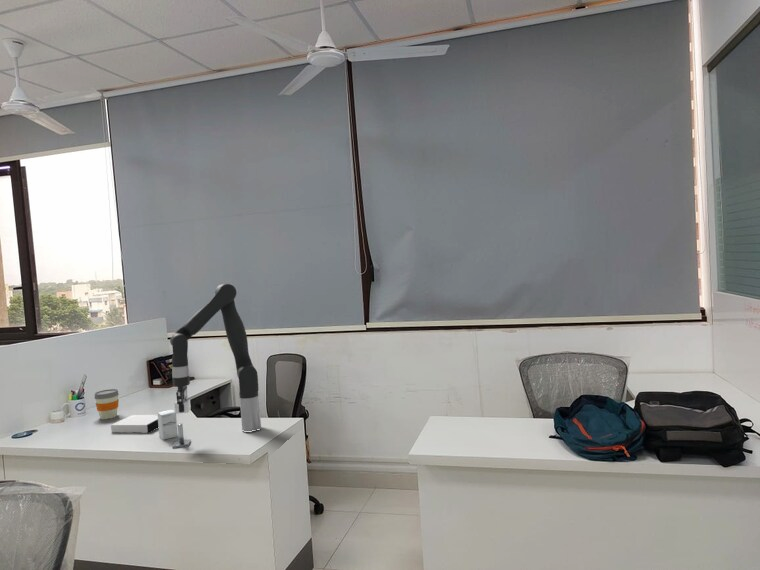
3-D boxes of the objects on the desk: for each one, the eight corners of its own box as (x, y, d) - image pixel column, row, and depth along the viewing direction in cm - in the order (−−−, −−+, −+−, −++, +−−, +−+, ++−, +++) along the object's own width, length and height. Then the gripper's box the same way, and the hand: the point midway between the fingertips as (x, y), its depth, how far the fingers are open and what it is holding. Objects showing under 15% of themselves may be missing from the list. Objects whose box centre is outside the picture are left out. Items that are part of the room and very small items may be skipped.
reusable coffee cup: (124, 413, 313) (122, 388, 312) (112, 419, 301) (109, 394, 300) (105, 414, 314) (102, 389, 314) (91, 420, 302) (89, 395, 301)
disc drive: (149, 434, 271) (148, 424, 271) (111, 433, 276) (110, 424, 275) (169, 423, 288) (168, 414, 288) (133, 423, 293) (132, 414, 293)
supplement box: (162, 440, 258) (160, 415, 257) (159, 436, 264) (156, 412, 263) (178, 436, 262) (176, 411, 261) (174, 433, 268) (172, 408, 267)
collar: (190, 409, 253) (190, 398, 253) (188, 412, 247) (187, 402, 247) (177, 410, 252) (176, 400, 251) (175, 413, 246) (174, 403, 246)
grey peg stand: (190, 441, 253) (188, 421, 252) (188, 446, 246) (186, 425, 246) (175, 443, 252) (173, 423, 251) (172, 448, 245) (170, 427, 244)
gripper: (186, 377, 242) (188, 413, 243) (191, 371, 256) (193, 405, 257) (169, 379, 241) (171, 415, 241) (175, 373, 255) (177, 407, 256)
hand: (182, 410), depth 249 cm, fingers closed on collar, 6 cm apart
